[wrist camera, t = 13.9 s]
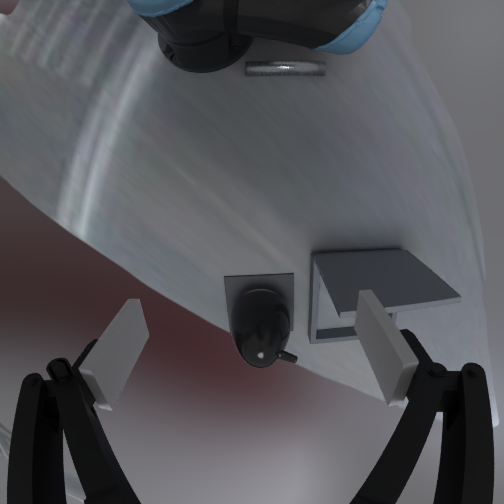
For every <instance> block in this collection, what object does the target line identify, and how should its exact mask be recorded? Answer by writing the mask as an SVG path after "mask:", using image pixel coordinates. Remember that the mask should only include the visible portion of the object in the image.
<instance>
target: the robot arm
mask: <svg viewBox="0 0 504 504" xmlns="http://www.w3.org/2000/svg"><path fill="white" fill-rule="evenodd" d="M127 2H128V3H129V4H130V7H131V8H132V10H133V11H134V12H135V13H136V14H138V15H139V16H140V17H142V18H143V19H144V20H145V21H146V22H147V23H148V24H149V25H150V26H151V27H152V28H153V29H154V30H155V31H156V32H158V43H159V46H160V49H161V51H162V53H163V54H164V56H165V57H166V58H167V59H168V60H169V61H170V62H171V63H173V64H174V65H175V66H177V67H179V68H181V69H183V70H186V71H190V72H196V73H206V72H213V71H217V70H220V69H223V68H225V67H227V66H229V65H231V64H233V63H234V62H236V61H237V60H238V59H240V58H241V57H242V56H243V55H244V54H245V52H246V51H247V50H248V48H249V46H250V44H251V42H252V39H253V36H255V37H261V38H266V39H272V40H277V41H282V42H287V43H291V44H296V45H300V46H304V47H307V48H308V49H311V50H316V51H317V50H322V51H326V52H330V53H334V54H338V55H340V54H350V53H352V52H354V51H356V50H357V49H359V48H360V47H361V46H362V45H363V44H364V43H365V42H366V41H367V40H368V39H369V38H370V36H371V35H372V34H373V32H374V31H375V29H376V27H377V26H378V24H379V22H380V20H381V18H382V16H381V12H382V11H383V10H384V9H385V7H386V3H387V0H127ZM354 329H355V331H356V334H357V336H358V338H359V340H360V342H361V345H362V347H363V349H364V351H365V353H366V356H367V358H368V360H369V362H370V365H371V367H372V369H373V372H374V374H375V376H376V378H377V381H378V383H379V385H380V388H381V390H382V393H383V395H384V397H385V400H386V402H387V404H388V407H390V406H394V405H399V404H403V401H404V399H405V397H406V396H407V398H408V400H409V402H408V404H407V407H406V409H405V411H404V413H403V415H402V417H401V419H400V421H399V423H398V425H397V427H396V429H395V431H394V433H393V435H392V437H391V439H390V441H389V443H388V444H387V446H386V448H385V450H384V451H383V453H382V455H381V457H380V458H379V460H378V462H377V464H376V465H375V467H374V468H373V470H372V471H371V473H370V475H369V476H368V478H367V479H366V481H365V482H364V484H363V485H362V487H361V488H360V490H359V491H358V493H357V494H356V495H355V497H354V498H353V500H352V501H351V502H350V504H395V503H396V501H397V500H398V498H399V496H400V494H401V493H402V491H403V489H404V487H405V485H406V483H407V481H408V479H409V477H410V475H411V473H412V471H413V469H414V467H415V465H416V463H417V461H418V458H419V456H420V454H421V452H422V449H423V447H424V445H425V442H426V439H427V437H428V435H429V432H430V429H431V427H432V424H433V421H434V419H435V416H436V413H437V412H443V430H442V444H441V455H440V465H439V472H438V480H437V486H436V492H435V497H434V502H433V504H492V503H493V488H494V441H493V426H492V416H491V407H490V400H489V393H488V386H487V381H486V375H485V371H484V369H483V368H482V367H481V366H480V365H478V364H476V363H467V364H465V365H464V366H463V367H462V369H461V371H447V369H446V368H445V367H444V366H443V365H442V364H439V363H435V362H433V361H432V360H431V358H430V357H429V355H428V354H427V352H426V351H425V349H424V348H423V346H422V345H421V343H420V342H419V341H418V339H417V338H416V336H415V335H414V334H413V333H412V332H411V331H409V330H408V329H403V330H399V329H398V328H397V326H396V325H395V323H394V322H393V320H392V319H391V317H390V316H389V314H388V313H387V311H386V310H385V309H384V307H383V306H382V304H381V303H380V301H379V300H378V298H377V297H376V296H375V294H374V293H373V291H372V290H371V289H369V290H359V297H358V305H357V313H356V320H355V327H354ZM148 337H149V333H148V329H147V326H146V322H145V319H144V315H143V311H142V307H141V304H140V300H139V299H128V300H127V302H126V303H125V304H124V306H123V307H122V308H121V310H120V311H119V312H118V314H117V315H116V316H115V318H114V319H113V320H112V322H111V323H110V324H109V326H108V327H107V329H106V330H105V331H104V333H103V334H102V336H101V337H100V338H99V340H98V339H94V340H93V341H92V342H90V343H89V344H88V345H87V346H86V348H85V349H84V351H83V352H82V353H81V356H79V357H78V359H77V360H76V362H75V363H74V365H73V366H72V367H71V365H70V363H69V361H68V360H67V359H65V358H57V359H54V360H52V361H51V362H50V363H49V364H48V365H47V368H46V370H47V372H48V374H49V376H50V378H51V379H52V380H43V378H42V376H41V375H40V374H38V373H32V374H29V375H27V376H26V377H25V378H24V380H23V382H22V386H21V390H20V394H19V398H18V403H17V408H16V413H15V419H14V424H13V430H12V437H11V445H10V453H9V465H8V481H7V504H67V502H66V493H65V482H64V466H63V429H64V433H65V437H66V440H67V444H68V447H69V450H70V454H71V457H72V460H73V463H74V466H75V469H76V471H77V474H78V477H79V479H80V482H81V485H82V487H83V490H84V492H85V495H86V499H85V500H84V504H141V503H140V501H139V499H138V498H137V496H136V494H135V493H134V491H133V489H132V487H131V486H130V484H129V482H128V480H127V478H126V477H125V475H124V473H123V471H122V469H121V467H120V465H119V463H118V461H117V459H116V457H115V455H114V453H113V451H112V449H111V446H110V444H109V442H108V440H107V437H106V435H105V433H104V431H103V428H102V426H101V423H100V421H99V419H98V416H97V413H96V411H95V409H94V407H93V404H94V402H95V401H96V402H97V404H98V406H99V407H100V408H102V409H107V410H113V408H114V406H115V404H116V402H117V399H118V397H119V395H120V393H121V391H122V389H123V387H124V385H125V383H126V381H127V379H128V377H129V375H130V373H131V371H132V369H133V367H134V365H135V362H136V360H137V359H138V357H139V355H140V353H141V351H142V349H143V347H144V345H145V343H146V341H147V339H148Z"/></svg>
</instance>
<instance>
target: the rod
mask: <svg viewBox="0 0 504 504" xmlns="http://www.w3.org/2000/svg"><path fill="white" fill-rule="evenodd" d="M246 71H247V76H256V75H324V76H325V74H326V64H325V62H324V61H295V60H279V61H251V62H246Z"/></svg>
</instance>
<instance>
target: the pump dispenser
mask: <svg viewBox="0 0 504 504" xmlns="http://www.w3.org/2000/svg"><path fill="white" fill-rule="evenodd" d="M230 327H231V334H232V337H233V341H234V343H235V346H236V348H237V350H238V352H239V354H240V355H241V357H242V358H243V359H244V360H245V361H246V362H247V363H248V364H249V365H251V366H253V367H256V368H265V367H269V366H270V365H272V364H273V363H274V362H276V361H277V360H278V359H281V360H285V361H288V362H292V363H296V362H297V359H298V358H297V356H295V355H293V354H290V353H288V352H286V351H284V349H285V347H286V345H287V342H288V339H289V335H290V330H291V313H290V309H289V306H288V304H287V303H286V301H285V300H284V299H283V298H282V297H280V296H279V295H278V294H276V293H274V292H272V291H270V290H266V289H255V290H252V291H249V292H247V293H245V294H244V295H243V296H241V297H240V298H239V299H238V300H237V301H236V302H235V303H234V305H233V307H232V310H231V314H230Z"/></svg>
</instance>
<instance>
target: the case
mask: <svg viewBox="0 0 504 504" xmlns="http://www.w3.org/2000/svg"><path fill="white" fill-rule="evenodd" d="M319 274H320V275H321V277H322V279H323V281H324V283H325V286H326V288H327V290H328V292H329V295H330V297H331V299H332V301H333V304H334V306H335V308H336V311H337V313H338V315H339V318H349V317H356V313H357V305H358V297H359V290H369V289H371V290H372V291H373V293H374V294H375V296H376V297H377V298H378V300H379V301H380V303H381V304H382V306H383V307H384V309H385V310H386V311H387V313H388V314H389V316H390V317H391V319H392V320H393V322H394V323H395V321H396V316H397V312H401V311H409V310H416V309H422V308H429V307H435V306H441V305H447V304H453V303H459V302H460V301H461V296H460V295H459V294H458V293H457V292H456V291H455V290H454V289H453V288H451V287H450V286H449V285H448V284H447V283H446V282H445V281H443V280H442V279H441V278H440V277H439V276H438V275H437V274H435V273H434V272H433V271H432V270H431V269H430V268H428V267H427V266H426V265H425V264H424V263H422V262H421V261H420V260H419V259H417V258H416V257H415V256H414V255H413V254H411V253H410V252H409V251H408V250H406V251H402V250H401V249H388V250H369V251H349V252H329V253H311V271H310V304H309V326H308V337H309V341H310V344H318V343H329V342H339V341H348V340H357V339H359V338H358V336H357V334H356V331H355V329H354V327H345V328H335V329H324V330H317V314H318V297H319Z"/></svg>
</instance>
